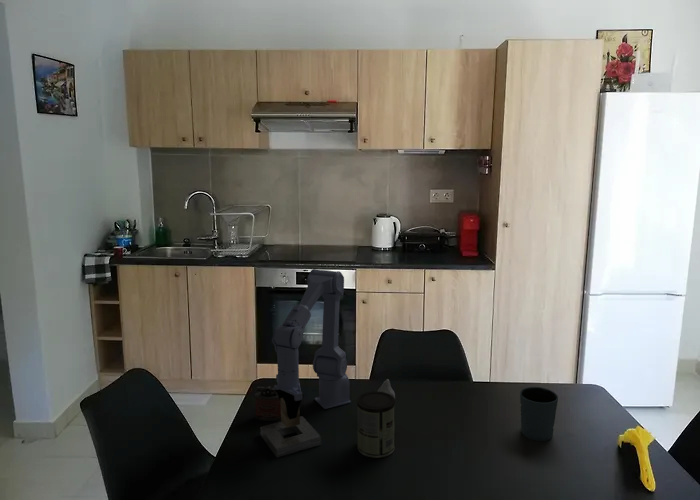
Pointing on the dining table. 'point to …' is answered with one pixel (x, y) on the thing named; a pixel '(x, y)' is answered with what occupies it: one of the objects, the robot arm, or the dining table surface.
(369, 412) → the coffee can
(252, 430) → the dining table surface
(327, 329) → the robot arm
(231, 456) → the dining table surface
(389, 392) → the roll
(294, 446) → the square hole board
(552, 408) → the dark grey cup
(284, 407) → the peg
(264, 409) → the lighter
